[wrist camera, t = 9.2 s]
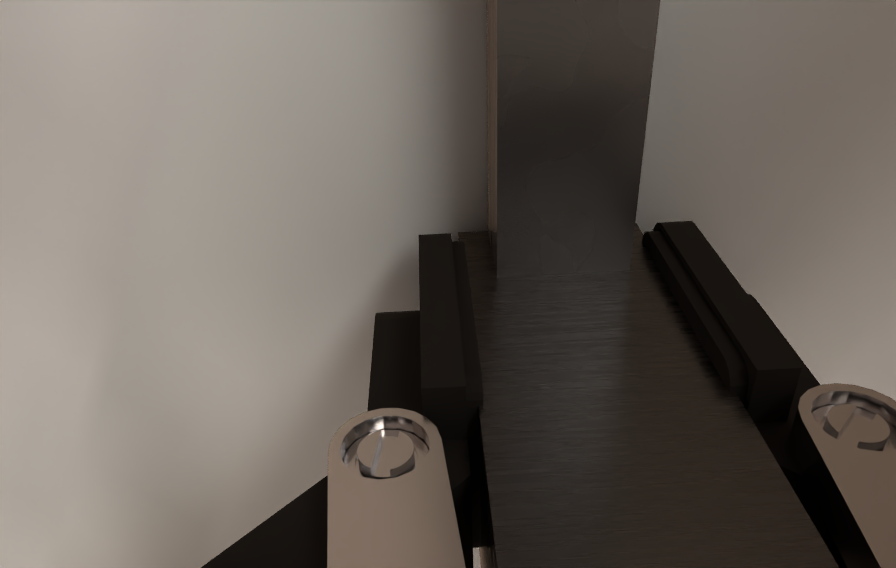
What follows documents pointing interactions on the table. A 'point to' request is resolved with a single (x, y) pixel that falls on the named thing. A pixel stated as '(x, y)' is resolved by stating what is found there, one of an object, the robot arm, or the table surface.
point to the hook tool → (600, 328)
